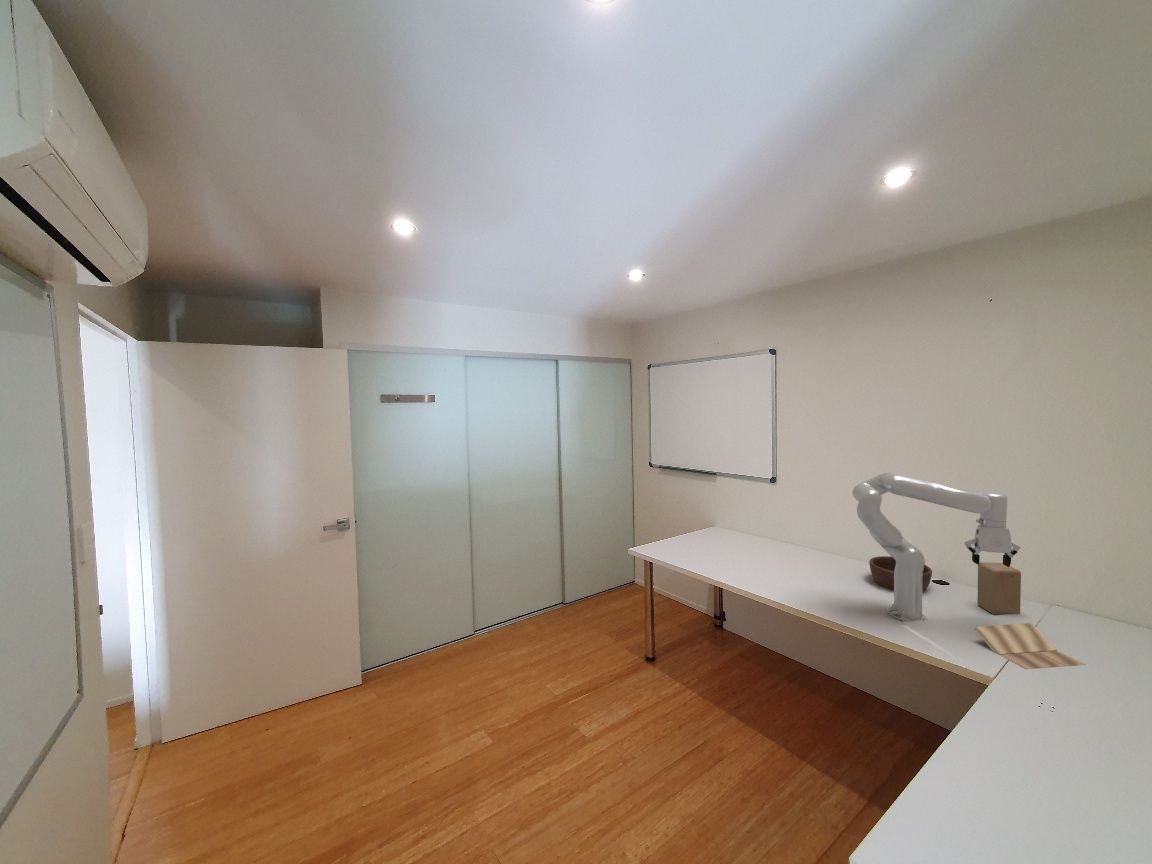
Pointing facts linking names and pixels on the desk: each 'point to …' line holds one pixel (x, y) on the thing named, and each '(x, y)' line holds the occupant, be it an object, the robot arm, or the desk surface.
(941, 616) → the desk surface
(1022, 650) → the board
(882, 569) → the wooden bowl
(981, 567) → the wooden block
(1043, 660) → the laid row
